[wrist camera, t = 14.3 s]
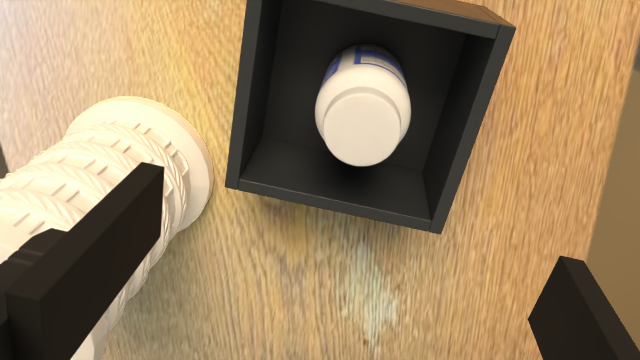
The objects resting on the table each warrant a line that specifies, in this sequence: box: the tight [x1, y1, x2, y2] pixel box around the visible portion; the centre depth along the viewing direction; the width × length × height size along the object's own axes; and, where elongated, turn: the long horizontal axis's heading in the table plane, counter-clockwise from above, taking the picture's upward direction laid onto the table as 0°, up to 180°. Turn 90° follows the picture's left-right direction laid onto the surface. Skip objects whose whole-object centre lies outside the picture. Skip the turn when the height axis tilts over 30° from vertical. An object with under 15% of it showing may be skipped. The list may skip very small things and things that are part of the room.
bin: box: [225, 0, 516, 234], centre depth 31 cm, size 14×13×8 cm
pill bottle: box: [315, 44, 411, 166], centre depth 30 cm, size 5×5×10 cm
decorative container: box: [0, 96, 214, 360], centre depth 31 cm, size 12×12×18 cm
